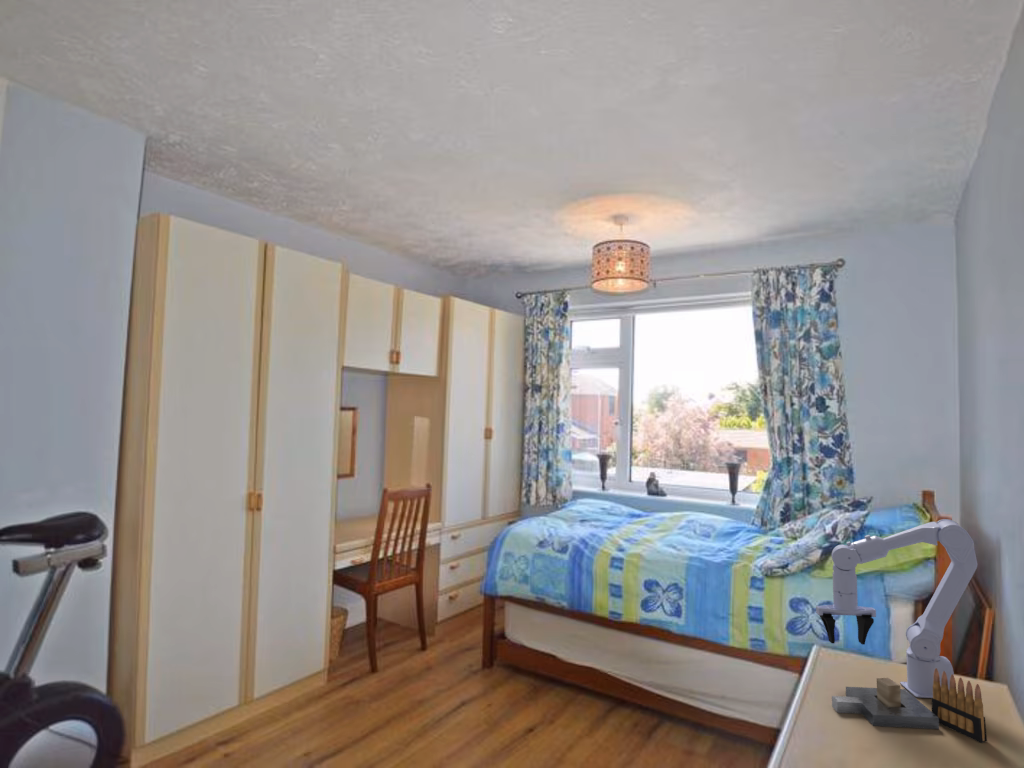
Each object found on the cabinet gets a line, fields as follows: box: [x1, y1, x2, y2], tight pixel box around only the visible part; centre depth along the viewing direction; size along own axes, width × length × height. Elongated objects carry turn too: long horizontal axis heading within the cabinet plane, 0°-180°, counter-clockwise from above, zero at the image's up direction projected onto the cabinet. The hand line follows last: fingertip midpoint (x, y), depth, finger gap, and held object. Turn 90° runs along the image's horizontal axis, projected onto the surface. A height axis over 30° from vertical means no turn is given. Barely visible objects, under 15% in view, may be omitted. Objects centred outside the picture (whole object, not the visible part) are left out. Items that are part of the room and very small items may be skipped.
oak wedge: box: [876, 677, 901, 707], centre depth 143 cm, size 3×4×7 cm
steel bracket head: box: [831, 686, 940, 730], centre depth 143 cm, size 20×14×2 cm
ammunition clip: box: [931, 668, 988, 744], centre depth 135 cm, size 11×2×12 cm, turn 22°
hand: (846, 642), depth 161 cm, fingers open, 7 cm apart
